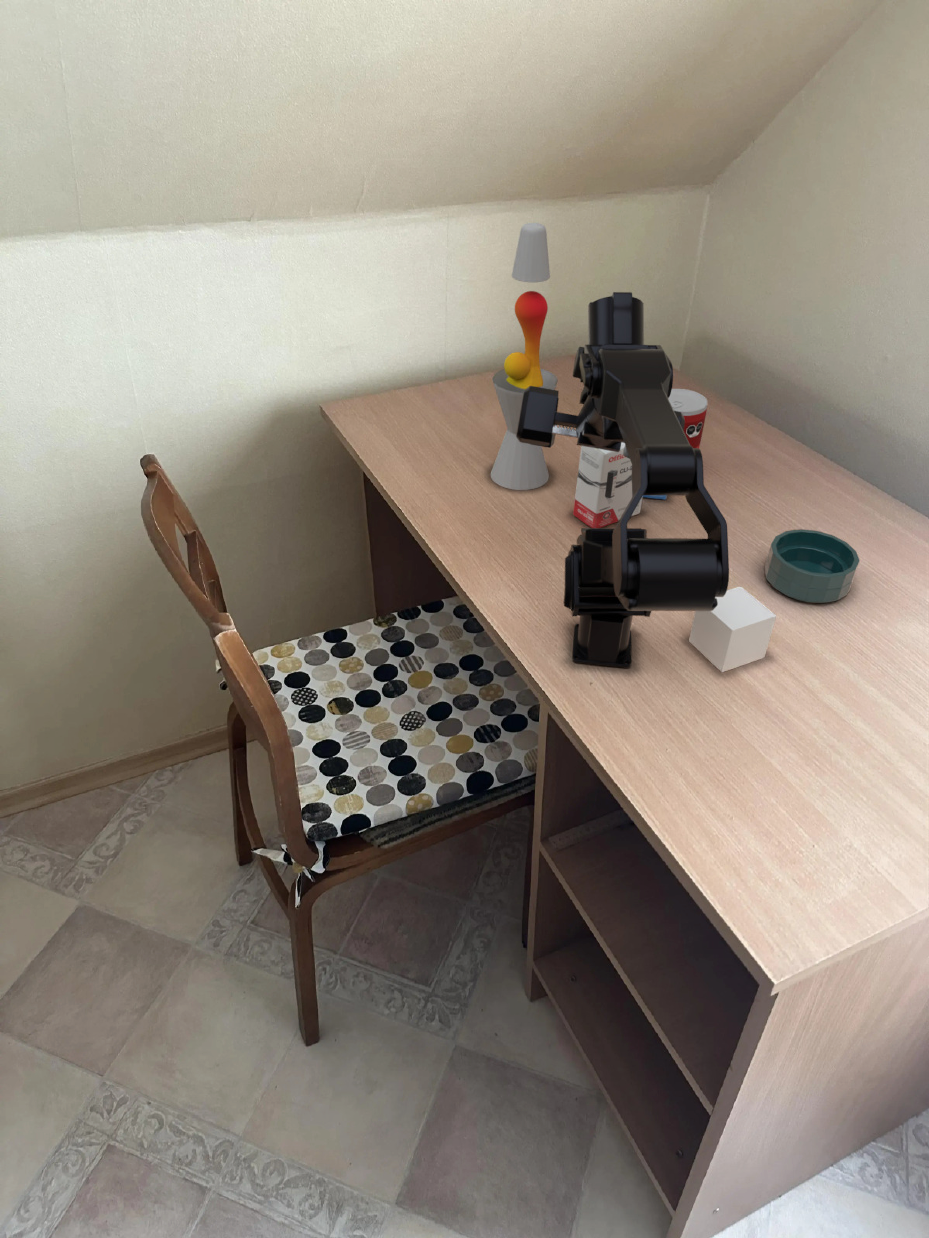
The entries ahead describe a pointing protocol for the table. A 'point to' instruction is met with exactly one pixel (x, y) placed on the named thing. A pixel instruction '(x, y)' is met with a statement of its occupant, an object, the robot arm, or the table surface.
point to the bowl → (811, 566)
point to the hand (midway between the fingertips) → (588, 445)
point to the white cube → (733, 630)
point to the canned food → (690, 413)
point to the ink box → (603, 486)
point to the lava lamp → (524, 367)
